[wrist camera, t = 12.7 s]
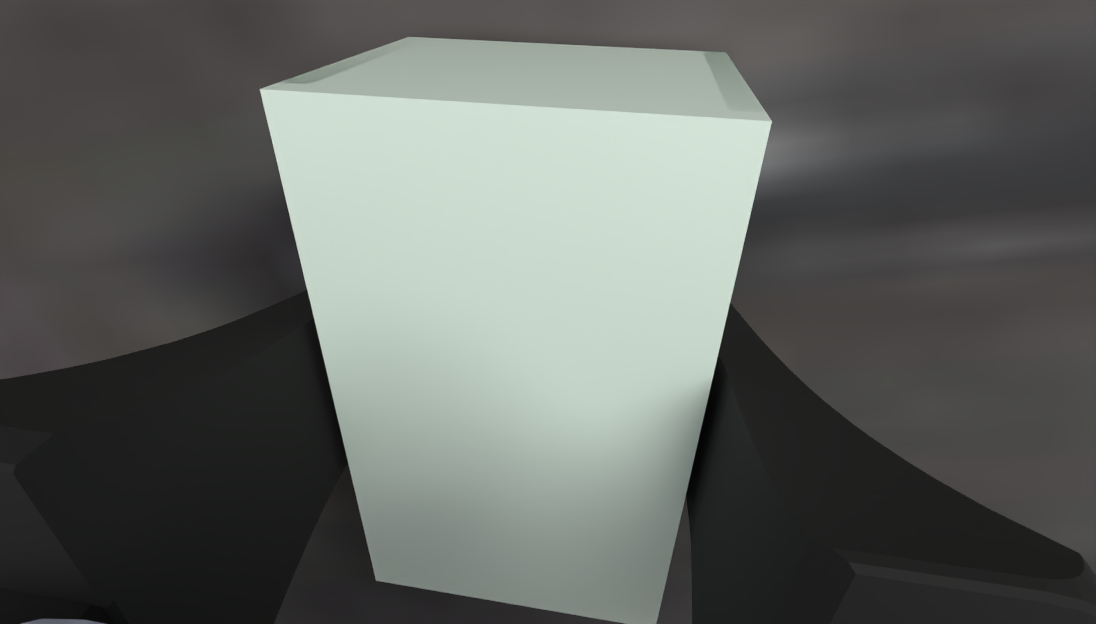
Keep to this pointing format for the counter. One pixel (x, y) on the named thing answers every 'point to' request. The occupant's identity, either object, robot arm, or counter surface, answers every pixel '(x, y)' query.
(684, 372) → the pale green block
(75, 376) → the robot arm
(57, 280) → the counter surface
